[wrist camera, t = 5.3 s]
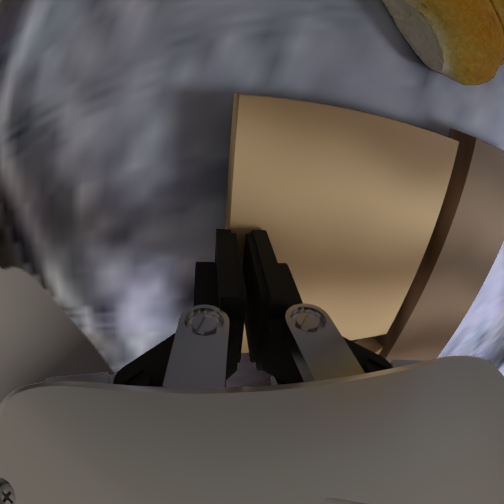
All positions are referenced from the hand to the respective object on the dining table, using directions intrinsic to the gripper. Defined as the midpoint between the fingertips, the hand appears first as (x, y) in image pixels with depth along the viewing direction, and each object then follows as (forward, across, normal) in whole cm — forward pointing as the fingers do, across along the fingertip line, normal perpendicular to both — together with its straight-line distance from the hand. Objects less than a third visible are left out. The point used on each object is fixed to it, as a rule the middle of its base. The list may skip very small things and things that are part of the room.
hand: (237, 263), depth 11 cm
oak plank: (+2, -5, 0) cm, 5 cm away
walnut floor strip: (+2, -14, +6) cm, 15 cm away
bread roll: (+2, -9, -14) cm, 17 cm away
